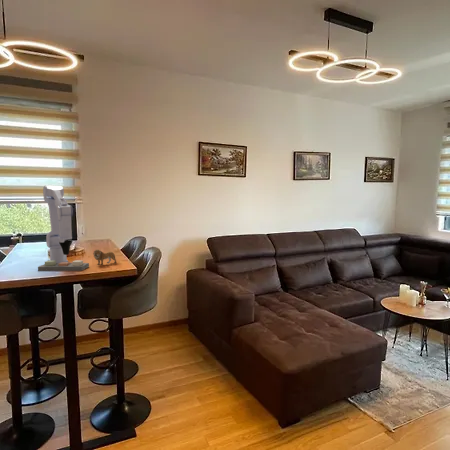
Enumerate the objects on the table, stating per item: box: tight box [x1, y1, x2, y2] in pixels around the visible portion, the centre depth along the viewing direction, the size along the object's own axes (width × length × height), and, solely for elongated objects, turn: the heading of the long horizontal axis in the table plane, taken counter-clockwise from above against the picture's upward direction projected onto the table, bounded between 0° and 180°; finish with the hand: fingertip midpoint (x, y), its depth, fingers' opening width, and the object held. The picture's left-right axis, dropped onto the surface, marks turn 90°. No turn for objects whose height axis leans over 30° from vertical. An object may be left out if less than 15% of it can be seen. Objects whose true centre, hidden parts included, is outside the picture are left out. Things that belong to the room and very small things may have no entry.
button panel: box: [37, 262, 90, 272], centre depth 177 cm, size 10×22×2 cm, turn 93°
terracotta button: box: [59, 261, 71, 266], centre depth 176 cm, size 4×4×3 cm
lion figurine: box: [92, 249, 117, 266], centre depth 190 cm, size 15×5×9 cm, turn 147°
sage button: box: [44, 259, 56, 266], centre depth 176 cm, size 4×4×3 cm
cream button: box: [71, 259, 84, 266], centre depth 177 cm, size 4×4×3 cm
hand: (66, 254), depth 176 cm, fingers closed
